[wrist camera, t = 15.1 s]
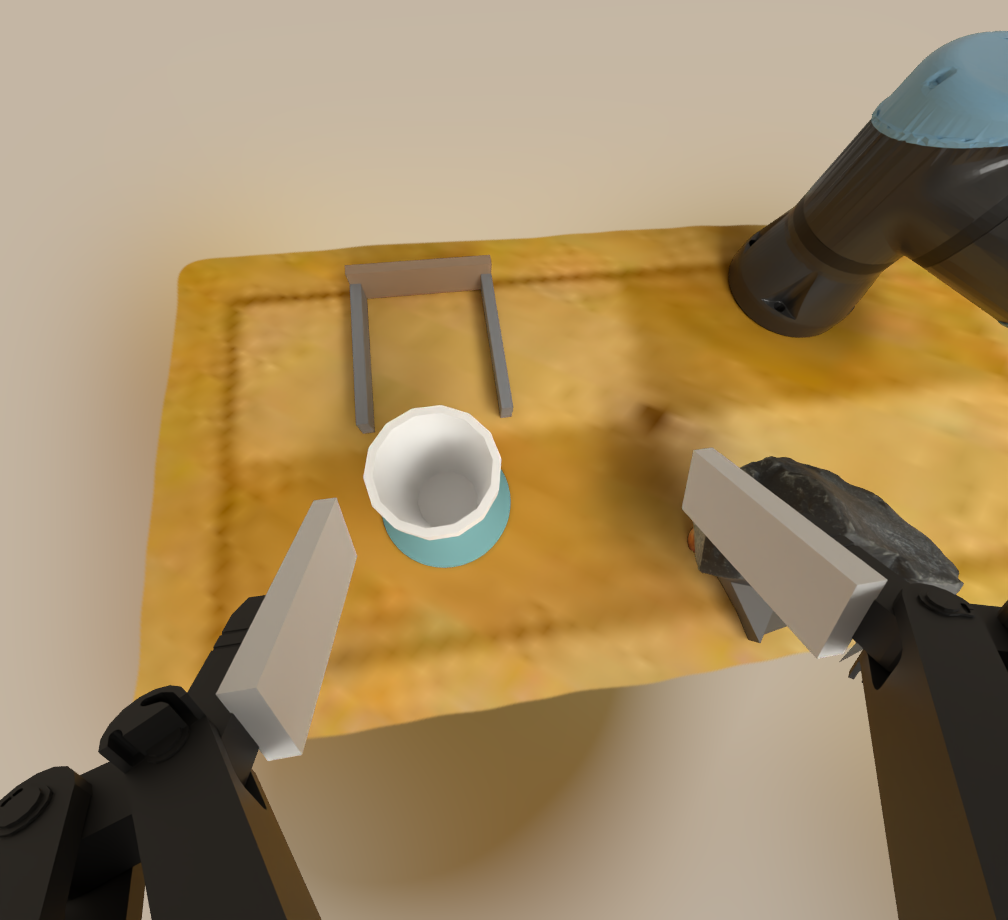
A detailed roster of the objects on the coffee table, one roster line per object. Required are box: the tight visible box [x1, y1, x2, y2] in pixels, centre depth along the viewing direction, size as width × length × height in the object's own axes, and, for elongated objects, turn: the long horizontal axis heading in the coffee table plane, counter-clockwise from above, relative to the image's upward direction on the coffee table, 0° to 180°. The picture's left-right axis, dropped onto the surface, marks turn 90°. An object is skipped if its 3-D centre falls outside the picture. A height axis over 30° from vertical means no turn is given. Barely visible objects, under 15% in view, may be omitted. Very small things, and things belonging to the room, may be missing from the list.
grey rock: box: [688, 456, 964, 661], centre depth 31 cm, size 14×15×18 cm
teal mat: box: [382, 470, 510, 568], centre depth 39 cm, size 13×13×1 cm
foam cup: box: [363, 405, 501, 540], centre depth 33 cm, size 10×9×13 cm
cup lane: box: [345, 255, 513, 433], centre depth 42 cm, size 16×18×4 cm
